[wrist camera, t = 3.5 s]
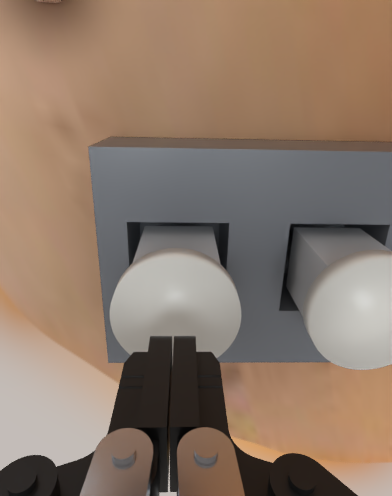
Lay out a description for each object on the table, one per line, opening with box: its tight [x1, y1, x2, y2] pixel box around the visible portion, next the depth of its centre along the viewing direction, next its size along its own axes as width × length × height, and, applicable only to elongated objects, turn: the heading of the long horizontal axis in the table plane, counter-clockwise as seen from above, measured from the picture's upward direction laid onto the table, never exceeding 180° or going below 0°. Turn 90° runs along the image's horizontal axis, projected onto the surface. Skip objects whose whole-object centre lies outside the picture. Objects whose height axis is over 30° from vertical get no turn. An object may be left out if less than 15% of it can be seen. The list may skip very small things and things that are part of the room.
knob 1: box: [110, 226, 241, 366], centre depth 17 cm, size 5×5×6 cm
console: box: [88, 137, 392, 363], centre depth 21 cm, size 24×12×5 cm, turn 89°
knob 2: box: [286, 227, 392, 370], centre depth 17 cm, size 5×5×6 cm
